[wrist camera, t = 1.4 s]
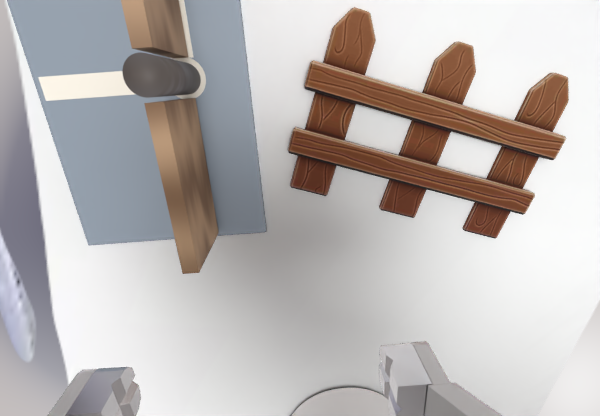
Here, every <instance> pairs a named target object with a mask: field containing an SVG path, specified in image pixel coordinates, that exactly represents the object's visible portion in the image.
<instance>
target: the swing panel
mask: <svg viewBox="0 0 600 416" xmlns="http://www.w3.org/2000/svg"><path fill="white" fill-rule="evenodd" d="M144 105H145V109H146V113H147V118H148V122H149V127H150V131H151V136H152V140H153V144H154V149H155V153H156V158H157V162H158V166H159V171H160V175H161V180H162V184H163V189H164V193H165V197H166V202H167V206H168V211H169V215H170V219H171V224H172V228H173V233H174V237H175V242H176V246H177V250H178V255H179V259H180V264H181V268H182V272H183V274H186V273H199V272H200V270H201V268H202V266H203V263H204V261H205V259H206V257H207V255H208V253H209V251H210V249H211V247H212V245H213V243H214V241H215V239H216V237H217V235H218V233H219V232H218V226H217V220H216V214H215V209H214V203H213V197H212V191H211V185H210V180H209V174H208V168H207V162H206V156H205V151H204V145H203V139H202V133H201V127H200V122H199V116H198V110H197V104H196V99H195V98H188V99H177V100H168V101H159V102H150V103H144Z"/></svg>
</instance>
